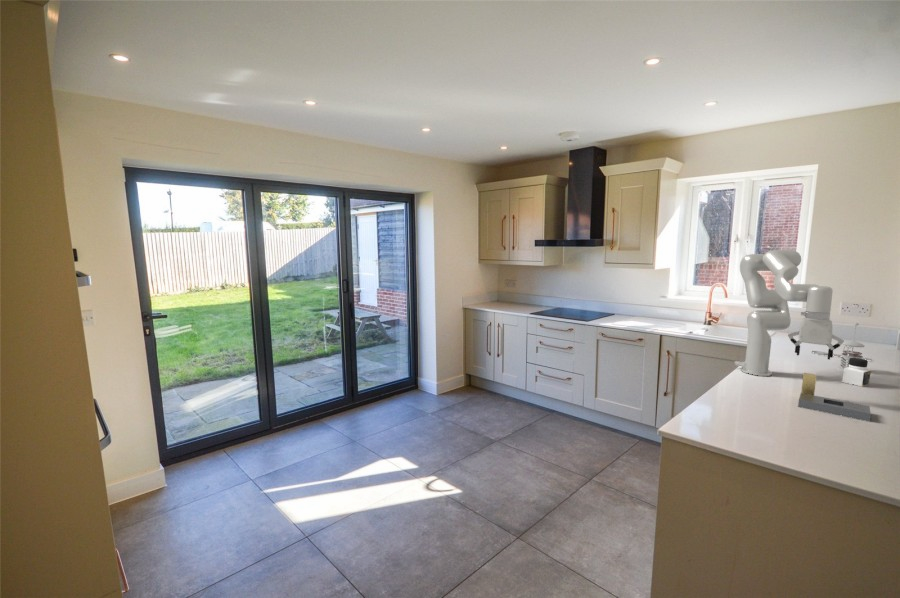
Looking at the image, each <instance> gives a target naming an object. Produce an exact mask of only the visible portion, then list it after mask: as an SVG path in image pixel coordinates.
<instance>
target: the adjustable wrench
mask: <svg viewBox="0 0 900 598" xmlns="http://www.w3.org/2000/svg"><path fill="white" fill-rule="evenodd" d="M812 352H814V353H813V355H815V354H818V355H817V356H821V355H828V352H825V351H820V350H811V353H812ZM833 355H834V356H841V354H838V353H833ZM834 356H833V357H834ZM862 359H866V360H873V359H872V358H869V357H863V358H862Z"/></svg>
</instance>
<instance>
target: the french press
mask: <svg viewBox="0 0 900 598" xmlns="http://www.w3.org/2000/svg"><path fill="white" fill-rule="evenodd" d="M859 325H860V324H859V323H858V322H854V323H853V326H855V328H854V332H856V330H857V326H859ZM855 338H856V333H854V335H853V340H852V341H851V340H849V341H844V342H843V343H842V344H843V345H844V347H843V350H842V353H841V354H840V355H841V356H842V357H840V364H839V366H838V367H837V368H838V369H839V370H838V369H837V370H838V371H840V370H842V371H841V372H844V368H846V367H849V359H850V358H864V357H863V353H862V352H860V351H855V350H854V348H864V347H865V345H864V344H863V343H861V342H858V341H855ZM846 347H847V350H845V348H846ZM850 348H852V349H851V350H849V349H850Z"/></svg>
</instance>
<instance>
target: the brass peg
mask: <svg viewBox="0 0 900 598" xmlns="http://www.w3.org/2000/svg"><path fill="white" fill-rule="evenodd" d="M802 376H803V377H802V384H801V392H800V394H801V393H804V394H809V395H814V396H815V392H816V391H815V389H816V385H817V383H816V382H817V376H818V375H817V374H815V373H809V372H803V375H802Z"/></svg>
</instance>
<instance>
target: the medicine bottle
mask: <svg viewBox="0 0 900 598" xmlns="http://www.w3.org/2000/svg"><path fill="white" fill-rule="evenodd" d="M868 362H869V361H867V360H865V359H862V358H850V359H849V367H846V368H844V371H843V373H842V380H841V381H842V383H843V382H844V384H847V383H849V385H852V384H854V385H853V386H856V385H858V386H857V387H860V386H863V387H865V385H866V386H869V385H870V379H871V378H870V377H871V372H872V371H871V369H869V368H868V364H869V363H868ZM867 368H868V369H867Z"/></svg>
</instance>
